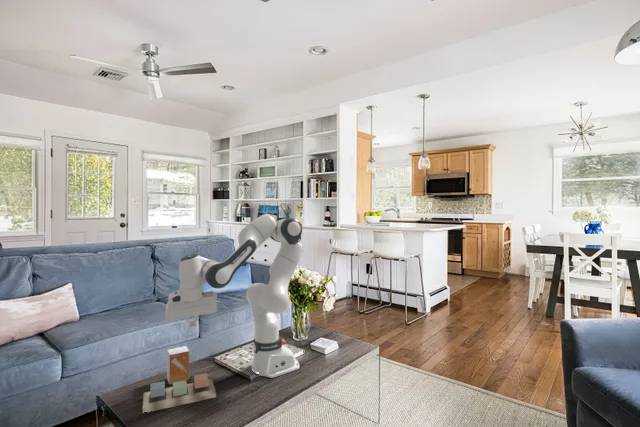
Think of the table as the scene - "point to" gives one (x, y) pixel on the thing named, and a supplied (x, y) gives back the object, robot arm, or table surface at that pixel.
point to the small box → (177, 364)
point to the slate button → (157, 389)
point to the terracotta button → (201, 380)
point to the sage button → (179, 388)
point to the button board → (178, 397)
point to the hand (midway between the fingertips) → (192, 326)
